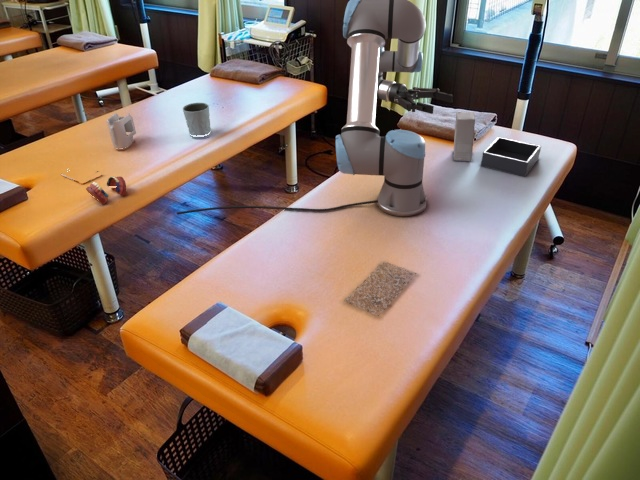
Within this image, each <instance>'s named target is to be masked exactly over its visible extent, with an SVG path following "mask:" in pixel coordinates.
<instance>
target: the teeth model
mask: <svg viewBox="0 0 640 480" xmlns="http://www.w3.org/2000/svg"><path fill="white" fill-rule="evenodd" d="M106 186H107V187H109V186H117V187H116V188H113V189H112V190H113V191H115V193H116V194H118V195H120V196H121V197H122V196H127V183H126V180H125V179H124V177H123V176H110V177H108V179H107V181H106ZM85 190H86V191H87V193H88V194H89V193H90V194H91V195H92V196H94V197H95V198H96V199H95V198H94V199H95V200H96V201H97V202H99V203H100V204H102V205H105V204H106V203H107V201H108V197H109V194H108V193H107V192H105V190H104V189H103V187H102V186H100V184H99V183H98V182H96V181H93V182H92V183H90V185H89V186H87V187H86V188H85ZM90 194H89V195H90ZM91 195H90V196H91ZM92 196H91V197H92ZM97 199H98V200H99V201H98V200H97Z"/></svg>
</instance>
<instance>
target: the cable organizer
mask: <svg viewBox="0 0 640 480" xmlns="http://www.w3.org/2000/svg"><path fill="white" fill-rule="evenodd" d="M106 124H107V128H108V131H109V135H110V139H111V143H112V147H113V148H114V149H115V148H118V149H116V150H117V151H124V150H127V149H128V148H129V147H131V146H132V145H133V143H134V141H135V139H134V136H135V135H136V134H137V131H136V126H135V122H134V118H133V116H132V115H131V114H130V113H128V114H125V116H119V114H118V113H117V112H115V113H114V114H112V115H110V117H108V118H106ZM127 133H129V134H127ZM132 142H133V143H132ZM127 146H128V147H127ZM125 147H126V148H125ZM119 148H123V149H119Z"/></svg>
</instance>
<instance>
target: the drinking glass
mask: <svg viewBox="0 0 640 480" xmlns="http://www.w3.org/2000/svg"><path fill="white" fill-rule="evenodd" d="M182 111H183V115H184V118H185V121H186V126H187V128H188V133H189V137H190V138H191V137H192V138H191V139H193V140H204V139H205V140H206V139H208V138H209V137H211V135H212V129H211V119H210V105H209V104H208V103H206V102H192V103H189V104H186V105H184V106H183V107H182ZM210 131H211V133H210V134H209V135H207V136H204V137H193V136H191V135H196V136H197V135H205V134H208V133H209V132H210ZM190 134H191V135H190Z"/></svg>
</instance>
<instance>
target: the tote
mask: <svg viewBox="0 0 640 480" xmlns="http://www.w3.org/2000/svg"><path fill="white" fill-rule="evenodd" d="M541 149H542V146H541V145H538V144H533V143H528V142H524V141H519V140H514V139H511V138H510V139H509V138H505V137H501V136H498V137H496V138H495V140H493V142H491V143H490V144H489V146H488V147H487V148H486V149H485V150H483V152H482V155H481V160H480V161H481V162H480V167H483V168H486V169H487V168H488V169H491V170H496V171H500V172H503V173H507V174H511V175H515V176H520V177H524V178H526V176H527V175H528V174H529V172H531V170H532V168H534V166H535V165H536V164H537V162H538V160H539V158H540V154H541Z"/></svg>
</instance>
